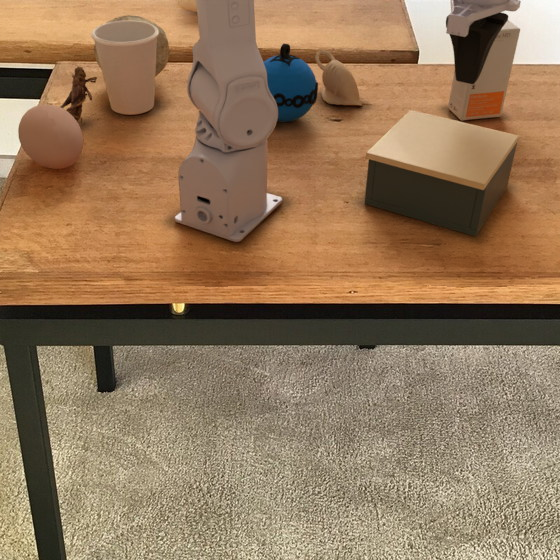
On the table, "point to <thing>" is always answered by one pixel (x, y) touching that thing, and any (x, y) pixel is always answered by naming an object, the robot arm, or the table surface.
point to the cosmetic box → (487, 80)
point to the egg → (50, 136)
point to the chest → (435, 196)
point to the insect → (78, 93)
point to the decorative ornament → (338, 82)
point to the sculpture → (161, 48)
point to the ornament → (290, 84)
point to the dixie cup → (128, 64)
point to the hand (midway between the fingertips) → (466, 80)
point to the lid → (444, 148)
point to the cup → (187, 5)
